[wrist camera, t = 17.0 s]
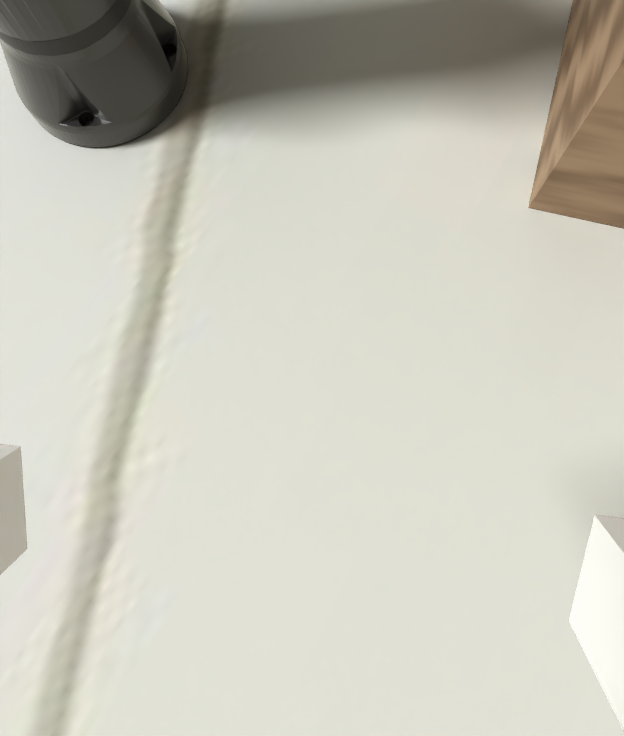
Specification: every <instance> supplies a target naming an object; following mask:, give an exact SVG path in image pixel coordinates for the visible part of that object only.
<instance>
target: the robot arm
mask: <svg viewBox="0 0 624 736" xmlns="http://www.w3.org/2000/svg"><path fill="white" fill-rule="evenodd" d="M0 43H1V46H2V49H3V52H4V55H5V58H6V61H7V64H8V67H9V70H10V73H11V76H12V79H13V82H14V85H15V88H16V90H17V93H18V95H19V97H20V98H21V100H22V102H23V103H24V105H25V106H26V108H27V109H28V110H29V111H30V113H31V114H32V115H33V116H34V118H35V119H36V120H37V121H38V122H39V124H40V125H41V126H42V127H43V128H44V129H45V130H46V131H48V132H49V133H50V134H52V135H53V136H55V137H57V138H59V139H61V140H63V141H65V142H68V143H71V144H74V145H79V146H85V147H107V146H114V145H118V144H122V143H125V142H128V141H131V140H133V139H136V138H138V137H140V136H142V135H144V134H145V133H147V132H149V131H150V130H152V129H153V128H155V127H156V126H157V125H158V124H160V123H161V122H162V121H163V120H164V119H165V118H166V117H167V116H168V115H169V113H170V112H171V111H172V110H173V108H174V107H175V106H176V104H177V102H178V101H179V99H180V97H181V95H182V92H183V90H184V87H185V84H186V80H187V73H188V61H187V55H186V51H185V47H184V45H183V42H182V39H181V36H180V33H179V31H178V28H177V26H176V24H175V22H174V20H173V19H172V17H171V15H170V14H169V13H168V11H167V10H166V9H165V8H164V6H163V5H162V4H161V3H160V2H159V0H0ZM26 549H27V536H26V521H25V505H24V490H23V475H22V459H21V446H14V445H5V444H0V575H1V574H2V573H3V572H4V571H5V570H6V569H7V568H8V567H9V566H10V565H11V564H12V563H13V562H14V561H15V560H16V559H17V558H18V557H19V556H20V555H21V554H22V553H23V552H24V551H25V550H26ZM569 623H570V625H571V627H572V629H573V631H574V633H575V635H576V637H577V639H578V641H579V643H580V645H581V647H582V649H583V651H584V653H585V655H586V657H587V659H588V661H589V663H590V665H591V667H592V669H593V671H594V673H595V675H596V677H597V679H598V681H599V683H600V685H601V687H602V689H603V691H604V693H605V695H606V697H607V699H608V701H609V703H610V705H611V707H612V709H613V711H614V713H615V715H616V717H617V719H618V721H619V723H620V725H621V727H622V729H623V731H624V518H615V517H607V516H599V515H595V516H594V520H593V524H592V528H591V532H590V536H589V540H588V544H587V548H586V552H585V556H584V560H583V565H582V569H581V573H580V577H579V581H578V585H577V589H576V593H575V597H574V601H573V605H572V609H571V613H570V617H569Z"/></svg>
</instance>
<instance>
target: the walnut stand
mask: <svg viewBox="0 0 624 736" xmlns="http://www.w3.org/2000/svg"><path fill="white" fill-rule="evenodd" d="M529 208H533V209H537V210H542V211H546V212H551V213H556V214H560V215H565V216H569V217H574V218H579V219H583V220H588V221H593V222H597V223H602V224H606V225H611V226H616V227H620V228H624V0H573V4H572V8H571V13H570V18H569V22H568V27H567V32H566V36H565V41H564V46H563V50H562V55H561V59H560V64H559V69H558V73H557V78H556V83H555V87H554V92H553V97H552V101H551V106H550V110H549V115H548V120H547V124H546V129H545V134H544V138H543V143H542V147H541V152H540V157H539V161H538V166H537V171H536V175H535V180H534V185H533V189H532V194H531V198H530V203H529Z"/></svg>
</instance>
